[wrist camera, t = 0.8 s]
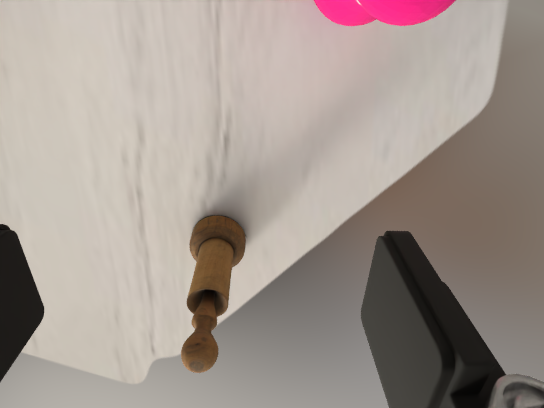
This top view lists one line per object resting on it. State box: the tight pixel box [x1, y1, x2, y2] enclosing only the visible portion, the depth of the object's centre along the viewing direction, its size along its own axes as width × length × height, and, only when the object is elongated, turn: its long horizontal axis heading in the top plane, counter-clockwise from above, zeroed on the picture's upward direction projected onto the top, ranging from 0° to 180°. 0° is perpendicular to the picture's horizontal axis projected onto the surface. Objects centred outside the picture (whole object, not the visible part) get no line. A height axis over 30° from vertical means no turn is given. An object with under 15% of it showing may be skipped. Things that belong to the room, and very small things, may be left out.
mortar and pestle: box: [181, 216, 246, 373], centre depth 36 cm, size 7×6×18 cm
